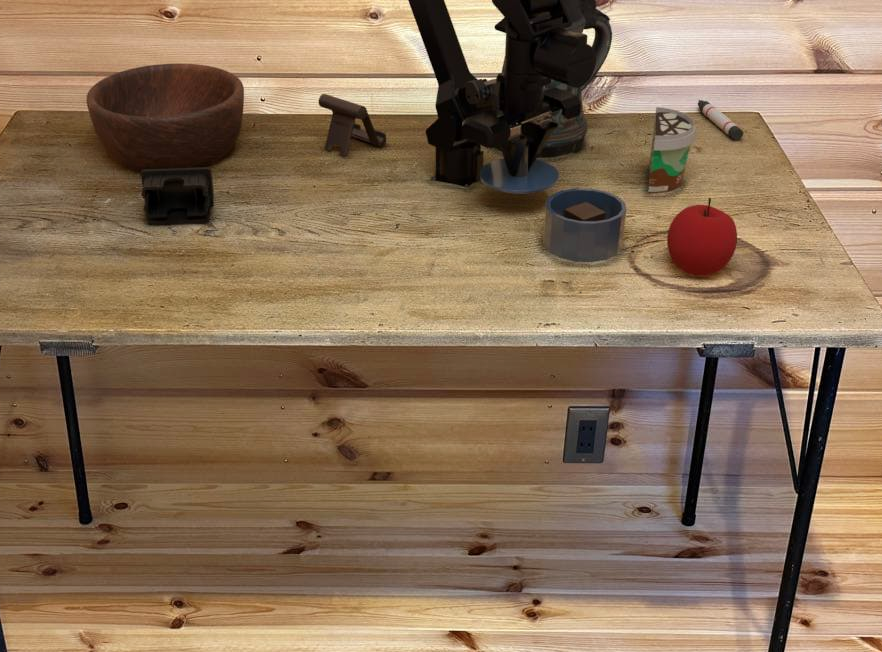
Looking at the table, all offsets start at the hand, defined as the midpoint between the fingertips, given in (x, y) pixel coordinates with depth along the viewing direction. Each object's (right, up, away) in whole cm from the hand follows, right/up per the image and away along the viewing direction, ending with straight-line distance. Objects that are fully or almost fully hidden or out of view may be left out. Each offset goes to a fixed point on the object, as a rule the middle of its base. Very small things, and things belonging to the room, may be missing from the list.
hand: (519, 172), depth 173 cm
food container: (+24, 0, +9) cm, 25 cm away
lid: (0, -1, 0) cm, 1 cm away
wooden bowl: (-55, +8, +22) cm, 60 cm away
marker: (+37, +14, +28) cm, 48 cm away
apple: (+22, -16, -13) cm, 30 cm away
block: (+8, -12, -8) cm, 16 cm away
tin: (+8, -12, -8) cm, 16 cm away
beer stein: (+6, +10, +24) cm, 26 cm away
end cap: (-50, -6, +3) cm, 50 cm away
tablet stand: (-25, +9, +22) cm, 35 cm away
